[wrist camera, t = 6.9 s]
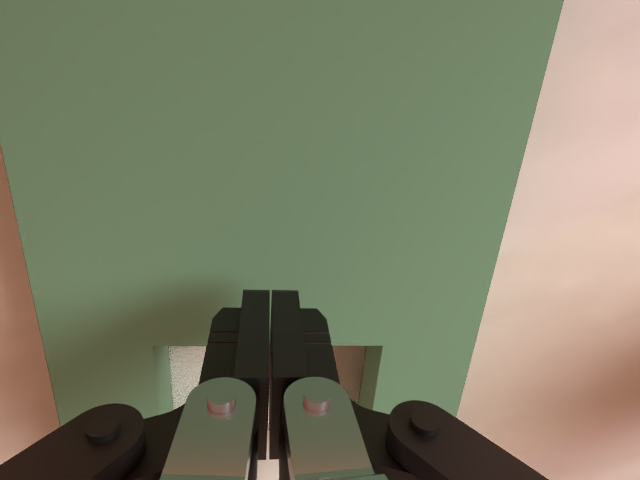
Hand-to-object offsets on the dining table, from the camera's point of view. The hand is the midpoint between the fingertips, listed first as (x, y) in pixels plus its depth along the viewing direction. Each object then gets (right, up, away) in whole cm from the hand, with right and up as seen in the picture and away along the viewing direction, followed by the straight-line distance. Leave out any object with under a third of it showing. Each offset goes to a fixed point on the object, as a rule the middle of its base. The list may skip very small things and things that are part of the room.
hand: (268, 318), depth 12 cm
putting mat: (0, -1, +4) cm, 4 cm away
